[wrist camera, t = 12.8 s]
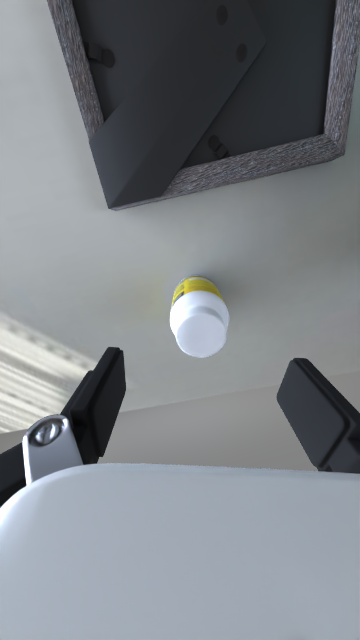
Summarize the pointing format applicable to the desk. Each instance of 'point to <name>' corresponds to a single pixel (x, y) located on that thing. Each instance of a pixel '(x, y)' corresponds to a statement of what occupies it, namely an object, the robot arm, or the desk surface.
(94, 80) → the picture frame
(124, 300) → the desk surface
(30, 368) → the desk surface
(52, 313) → the desk surface
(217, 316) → the supplement bottle
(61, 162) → the desk surface
